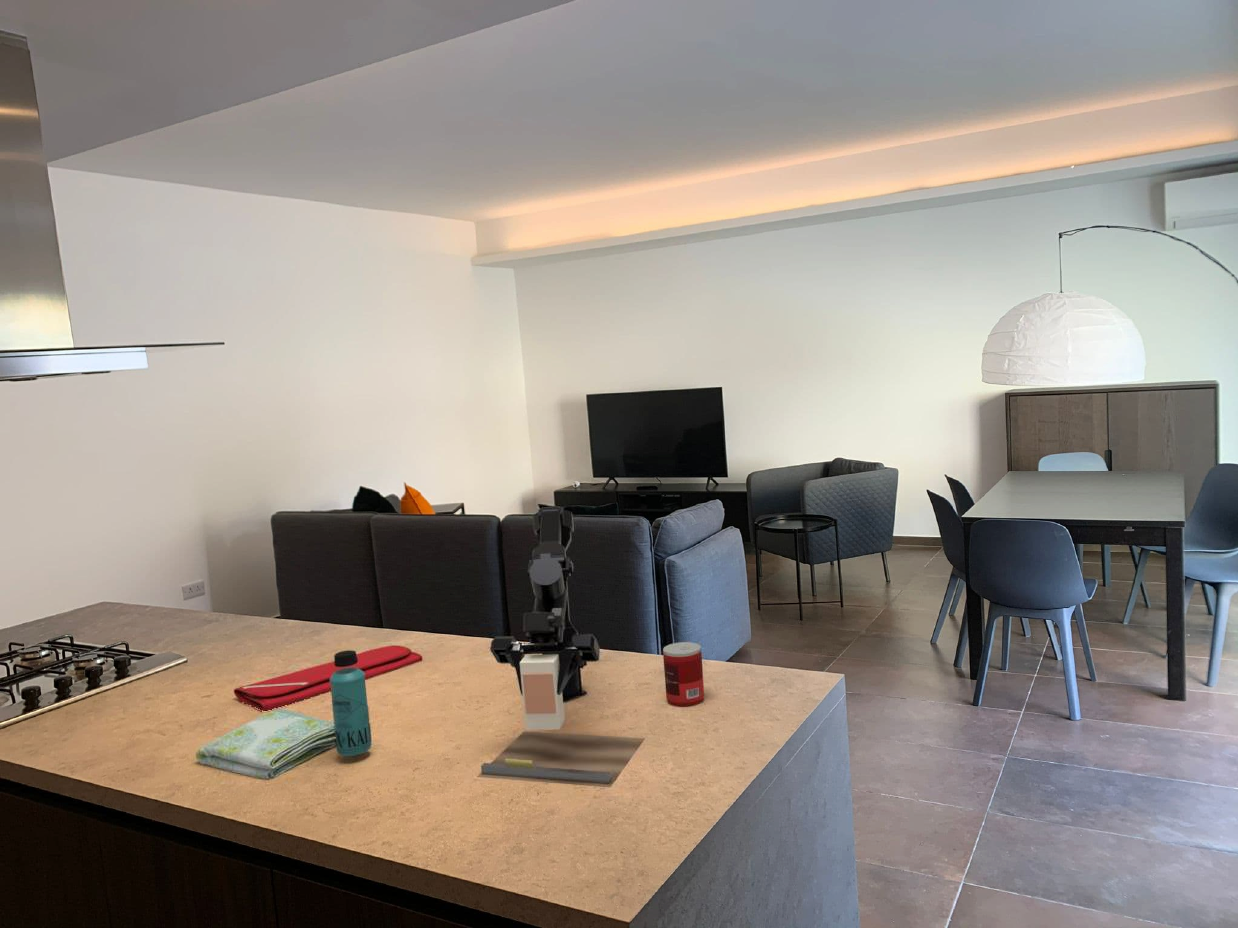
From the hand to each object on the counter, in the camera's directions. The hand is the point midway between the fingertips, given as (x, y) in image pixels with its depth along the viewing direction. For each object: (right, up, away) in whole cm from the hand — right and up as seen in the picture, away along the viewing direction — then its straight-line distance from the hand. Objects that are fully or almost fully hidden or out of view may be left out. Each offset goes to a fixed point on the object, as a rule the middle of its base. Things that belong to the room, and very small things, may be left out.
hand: (540, 694), depth 154 cm
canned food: (+27, -9, +29) cm, 40 cm away
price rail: (+1, -13, -5) cm, 14 cm away
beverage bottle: (-35, -15, +12) cm, 40 cm away
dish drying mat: (-55, -13, +60) cm, 82 cm away
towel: (-53, -16, +17) cm, 58 cm away
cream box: (+1, -6, +2) cm, 6 cm away
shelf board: (+4, -13, +3) cm, 14 cm away
